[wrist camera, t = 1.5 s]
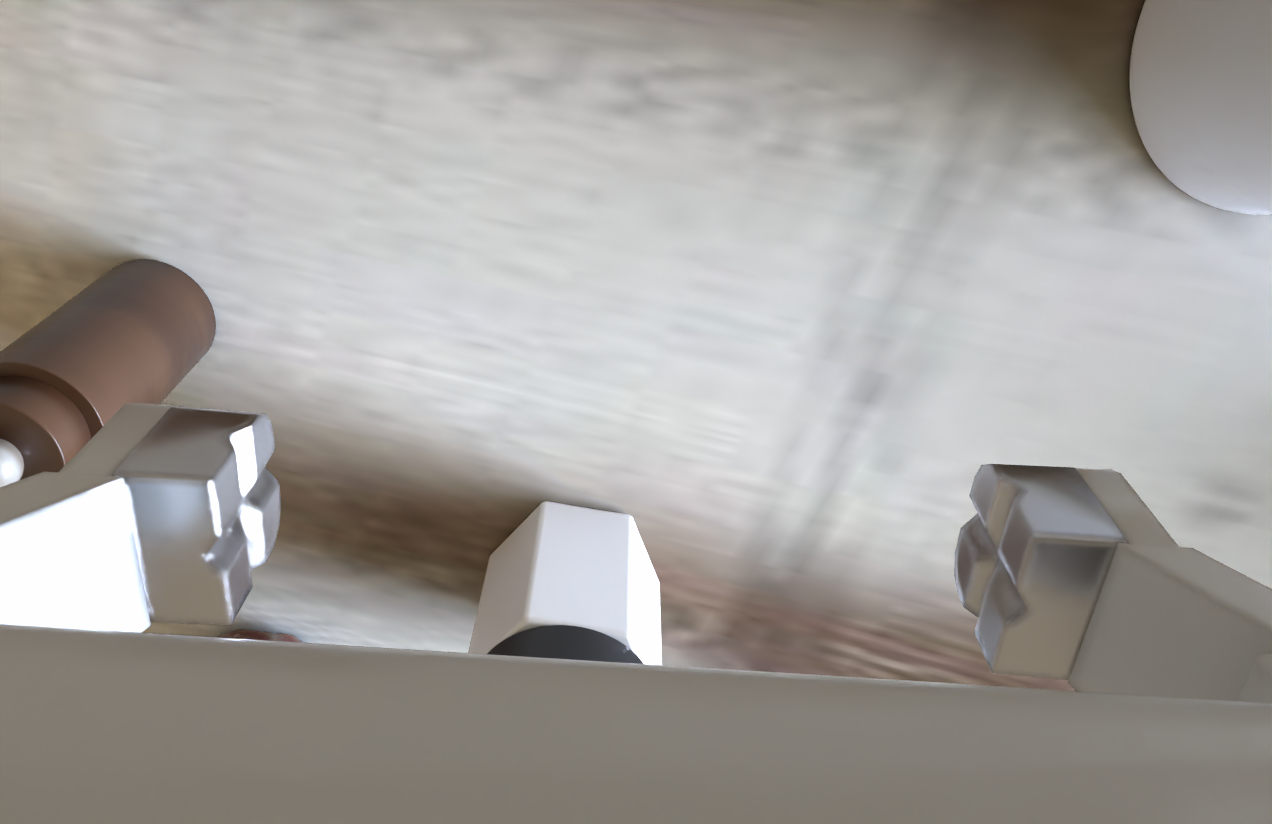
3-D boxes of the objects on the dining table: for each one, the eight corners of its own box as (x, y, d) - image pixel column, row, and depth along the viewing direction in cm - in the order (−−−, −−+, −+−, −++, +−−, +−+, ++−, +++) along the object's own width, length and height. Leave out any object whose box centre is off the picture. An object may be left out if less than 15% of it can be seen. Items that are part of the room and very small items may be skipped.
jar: (468, 521, 52) (424, 686, 42) (619, 476, 51) (614, 635, 40) (533, 651, 56) (508, 832, 45) (675, 612, 55) (684, 790, 44)
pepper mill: (143, 235, 45) (-55, 378, 32) (240, 321, 47) (89, 489, 34) (71, 309, 47) (-145, 474, 34) (167, 389, 49) (-3, 575, 36)
